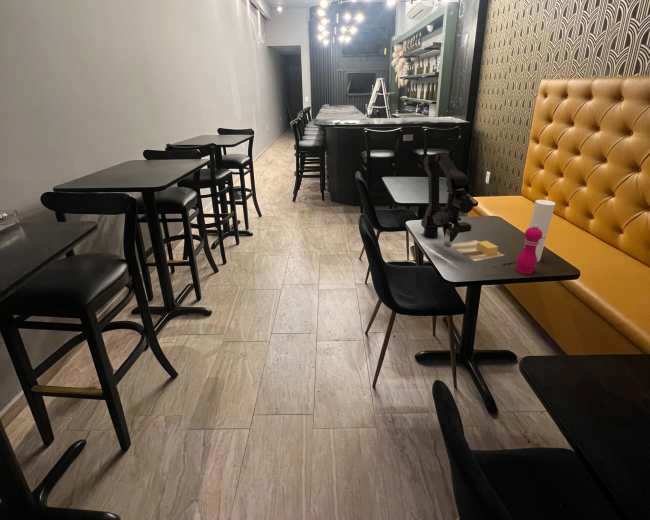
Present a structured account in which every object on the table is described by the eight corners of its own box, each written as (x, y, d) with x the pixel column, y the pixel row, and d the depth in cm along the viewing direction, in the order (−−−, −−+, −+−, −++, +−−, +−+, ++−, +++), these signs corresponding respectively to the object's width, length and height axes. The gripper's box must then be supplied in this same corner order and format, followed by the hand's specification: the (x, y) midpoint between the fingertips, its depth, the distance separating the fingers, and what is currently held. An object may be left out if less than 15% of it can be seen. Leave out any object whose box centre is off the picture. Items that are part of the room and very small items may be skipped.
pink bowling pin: (536, 275, 153) (549, 228, 144) (516, 274, 154) (528, 226, 145) (531, 267, 159) (543, 221, 150) (512, 266, 160) (523, 220, 151)
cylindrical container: (538, 256, 169) (553, 200, 158) (541, 262, 163) (556, 205, 152) (520, 253, 171) (534, 199, 160) (522, 260, 165) (536, 204, 154)
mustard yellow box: (475, 249, 171) (477, 242, 170) (484, 247, 173) (486, 240, 171) (487, 255, 165) (488, 248, 164) (496, 254, 167) (498, 246, 166)
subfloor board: (447, 247, 177) (447, 244, 176) (475, 242, 182) (475, 239, 181) (473, 264, 162) (474, 261, 161) (503, 258, 167) (504, 255, 166)
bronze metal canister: (442, 244, 169) (444, 227, 165) (448, 243, 170) (451, 226, 166) (446, 247, 166) (449, 230, 163) (453, 246, 167) (455, 229, 164)
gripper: (424, 201, 165) (420, 235, 172) (452, 214, 150) (446, 251, 156) (446, 198, 169) (441, 231, 176) (475, 211, 153) (468, 247, 160)
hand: (448, 240), depth 167 cm, fingers closed on bronze metal canister, 3 cm apart
